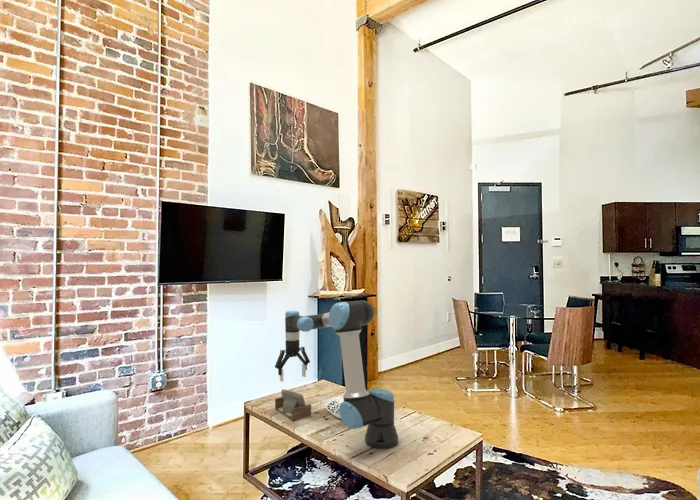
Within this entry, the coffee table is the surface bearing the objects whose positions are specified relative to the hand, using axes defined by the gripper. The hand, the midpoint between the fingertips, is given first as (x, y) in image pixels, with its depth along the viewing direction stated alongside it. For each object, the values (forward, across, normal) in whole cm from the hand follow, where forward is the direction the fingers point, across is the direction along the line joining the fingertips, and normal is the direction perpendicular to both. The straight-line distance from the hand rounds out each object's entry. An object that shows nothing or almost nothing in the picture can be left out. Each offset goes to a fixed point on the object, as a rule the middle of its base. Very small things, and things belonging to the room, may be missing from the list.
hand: (292, 378), depth 222 cm
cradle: (+18, 0, -1) cm, 18 cm away
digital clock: (+18, -1, 0) cm, 18 cm away
